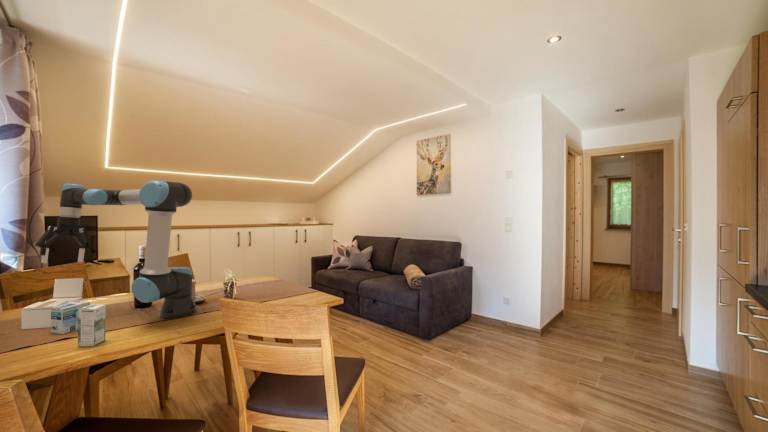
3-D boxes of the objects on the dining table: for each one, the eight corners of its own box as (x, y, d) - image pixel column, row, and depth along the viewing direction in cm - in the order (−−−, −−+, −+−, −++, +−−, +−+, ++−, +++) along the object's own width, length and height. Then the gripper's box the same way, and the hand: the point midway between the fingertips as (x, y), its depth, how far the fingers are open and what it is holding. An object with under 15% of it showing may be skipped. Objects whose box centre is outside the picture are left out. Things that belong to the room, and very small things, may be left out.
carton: (51, 315, 154) (51, 296, 154) (82, 313, 158) (82, 294, 157) (21, 329, 137) (21, 307, 137) (56, 326, 140) (56, 305, 140)
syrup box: (90, 340, 127) (89, 304, 127) (106, 340, 128) (105, 304, 127) (77, 346, 122) (77, 308, 121) (94, 346, 122) (94, 308, 122)
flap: (52, 297, 154) (54, 297, 155) (80, 296, 157) (82, 296, 158) (54, 279, 156) (56, 279, 156) (82, 278, 159) (83, 278, 159)
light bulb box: (62, 334, 133) (62, 308, 132) (50, 333, 134) (49, 307, 134) (91, 325, 143) (90, 301, 143) (79, 324, 144) (78, 300, 144)
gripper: (94, 219, 165) (88, 261, 163) (28, 213, 141) (21, 262, 139) (104, 219, 163) (99, 262, 160) (39, 213, 139) (32, 263, 137)
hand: (62, 262), depth 150 cm, fingers open, 13 cm apart
